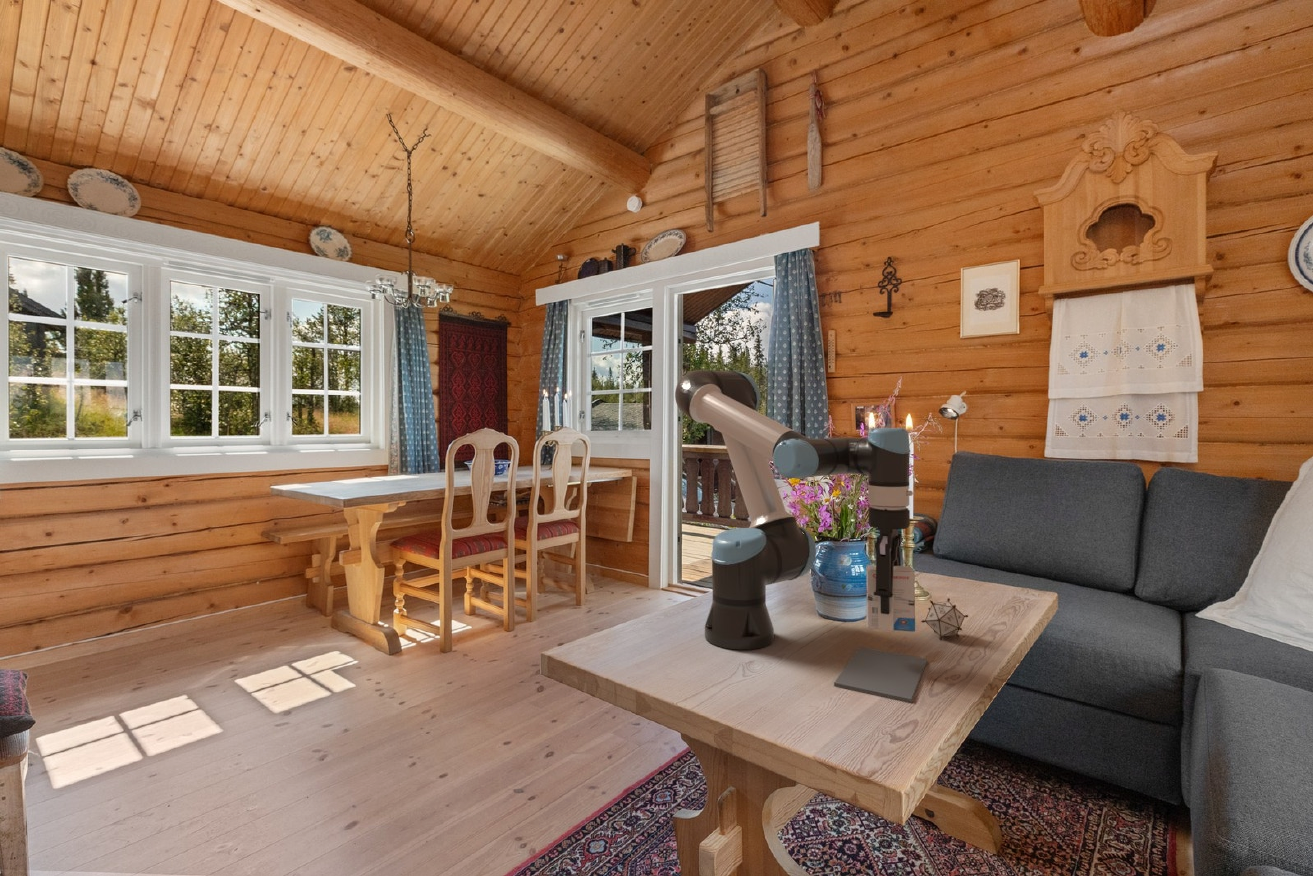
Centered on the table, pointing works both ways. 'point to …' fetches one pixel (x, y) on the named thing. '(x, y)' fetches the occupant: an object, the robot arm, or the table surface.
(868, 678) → the mat
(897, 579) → the ink box
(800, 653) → the table surface
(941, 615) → the game die
